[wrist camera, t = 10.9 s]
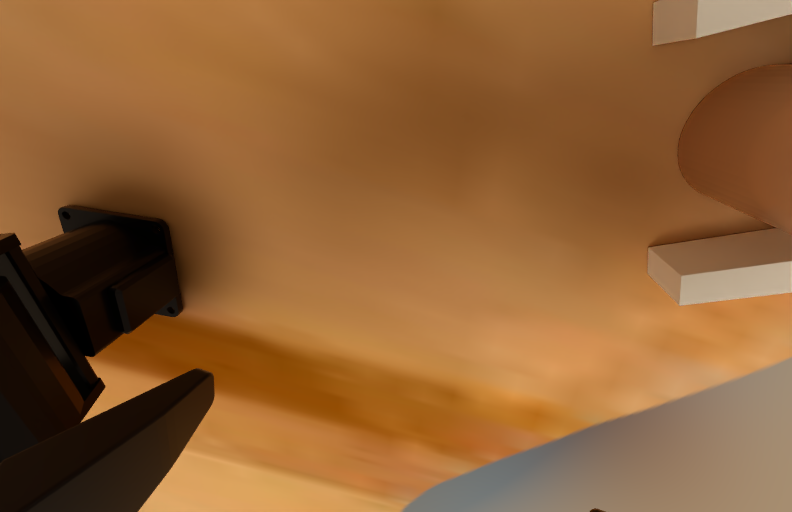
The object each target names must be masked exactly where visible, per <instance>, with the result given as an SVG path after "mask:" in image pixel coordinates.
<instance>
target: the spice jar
mask: <svg viewBox="0 0 792 512" xmlns="http://www.w3.org/2000/svg"><path fill="white" fill-rule="evenodd" d="M678 163H679V167H680V171H681V173H682V175H683V177H684V178H685V180H686V181H687V183H688V184H689V185H690V186H691V187H692V188H694V189H695V190H696V191H698V192H700V193H702V194H704V195H706V196H708V197H710V198H712V199H714V200H717V201H719V202H721V203H723V204H725V205H728V206H730V207H732V208H734V209H736V210H739V211H741V212H743V213H745V214H747V215H749V216H752V217H754V218H756V219H758V220H760V221H763V222H765V223H767V224H769V225H771V226H773V227H776V228H778V229H780V230H782V231H784V232H787V233H789V234H791V235H792V64H778V65H767V66H761V67H757V68H753V69H750V70H747V71H745V72H742V73H740V74H738V75H736V76H734V77H732V78H730V79H728V80H727V81H725V82H723V83H722V84H720V85H719V86H718V87H716V88H715V89H714V90H713V91H711V92H710V93H709V94H708V95H707V96H706V97H705V98H704V99H703V100H702V101H701V102H700V103H699V104H698V106H697V107H696V108H695V110H694V111H693V112H692V114H691V115H690V117H689V119H688V120H687V122H686V124H685V126H684V128H683V130H682V134H681V137H680V140H679V145H678Z"/></svg>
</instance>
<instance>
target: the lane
mask: <svg viewBox="0 0 792 512" xmlns="http://www.w3.org/2000/svg"><path fill="white" fill-rule="evenodd" d="M790 14H792V0H659V1H657V2H654V3H653V42H652V46H653V45H659V44H666V43H672V42H678V41H684V40H690V39H696V38H700V37H704V36H708V35H711V34H715V33H719V32H723V31H727V30H731V29H735V28H739V27H743V26H747V25H751V24H755V23H759V22H762V21H766V20H770V19H774V18H778V17H782V16H786V15H790ZM648 275H649V276H650V277H651V278H652V279H653V280H654V281H655V282H656V283H657V284H658V285H659V286H660V287H661V288H662V289H663V290H664V291H665V292H666V293H667V294H668V295H669V296H670V297H671V298H672V299H673V300H674V301H675V302H676V303H677V304H678V305H679V306H682V305H690V304H698V303H707V302H715V301H724V300H732V299H741V298H749V297H757V296H766V295H774V294H783V293H791V292H792V235H791V234H789V233H787V232H784V231H782V230H780V229H778V228H773V229H766V230H759V231H753V232H746V233H740V234H733V235H726V236H720V237H713V238H707V239H700V240H693V241H687V242H680V243H674V244H667V245H660V246H654V247H648Z"/></svg>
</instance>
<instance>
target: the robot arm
mask: <svg viewBox="0 0 792 512" xmlns="http://www.w3.org/2000/svg"><path fill="white" fill-rule="evenodd" d="M69 214H70V215H69ZM58 215H59V218H60V221H61V225H62V228H63V231H64V234H61V235H59V236H56V237H54V238H51V239H49V240H46V241H44V242H41V243H39V244H36V245H34V246H31V247H29V248H26V249H24V250H21V248H20V245H21V243H20V241H19V240H18V238H17V236H16V234H15V233H7V234H0V512H138V511H139V509H140V508H141V507H142V506H143V504H144V503H145V502H146V500H147V499H148V498H149V496H150V495H151V494H152V493H153V491H154V490H155V489H156V487H157V486H158V485H159V484H160V482H161V481H162V480H163V478H164V477H165V476H166V474H167V473H168V472H169V470H170V469H171V468H172V466H173V465H174V463H175V462H176V460H177V459H178V457H179V456H180V454H181V452H182V451H183V449H184V448H185V446H186V445H187V443H188V441H189V440H190V438H191V437H192V435H193V434H194V432H195V430H196V429H197V427H198V426H199V424H200V423H201V421H202V419H203V418H204V416H205V415H206V413H207V411H208V410H209V408H210V407H211V405H212V403H213V400H214V376H213V374H212V373H211V372H208V371H205V370H202V369H198V368H197V369H193V370H191V371H189V372H187V373H185V374H182V375H180V376H178V377H176V378H174V379H172V380H170V381H168V382H166V383H164V384H161V385H159V386H157V387H155V388H153V389H151V390H149V391H147V392H145V393H143V394H141V395H138V396H136V397H134V398H132V399H130V400H128V401H126V402H124V403H122V404H120V405H117V406H115V407H113V408H111V409H109V410H107V411H105V412H103V413H101V414H99V415H97V416H94V417H92V418H90V419H88V420H86V421H84V422H82V423H81V421H82V420H83V418H84V417H85V416H86V414H87V413H88V411H89V410H90V408H91V407H92V406H93V404H94V403H95V401H96V400H97V398H98V397H99V396H100V394H101V393H102V391H103V390H104V388H105V385H104V383H103V381H102V380H101V378H98V377H97V376H96V374H95V372H94V371H93V369H92V367H91V366H90V364H89V362H88V360H87V359H86V357H85V356H89V357H94V356H95V355H97V354H98V353H99V352H100V351H102V350H103V349H104V348H106V347H107V346H108V345H109V344H111V343H112V342H113V341H115V340H116V339H117V338H118V337H120V336H121V335H122V334H124V333H126V334H129V333H131V332H132V331H133V330H135V329H136V328H137V327H138V326H140V325H141V324H142V323H143V322H145V321H146V320H147V319H149V318H150V317H151V316H152V315H154V314H158V315H164V316H170V317H176V316H178V315H179V314H180V313H181V312H182V309H183V308H182V302H181V296H180V290H179V285H178V279H177V273H176V267H175V261H174V256H173V250H172V244H171V238H170V232H169V227H168V225H167V224H166V222H164V221H163V220H161V219H156V218H149V217H143V216H136V215H130V214H124V213H117V212H111V211H104V210H98V209H91V208H85V207H78V206H72V205H67V206H64V207H61V208H60V209H59V210H58ZM156 226H157V227H158V228H159V229H160V231H159V230H158V229H157V227H156ZM590 512H605V511H602V510H599V509H596V508H595V509H592V510H591V511H590Z"/></svg>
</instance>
